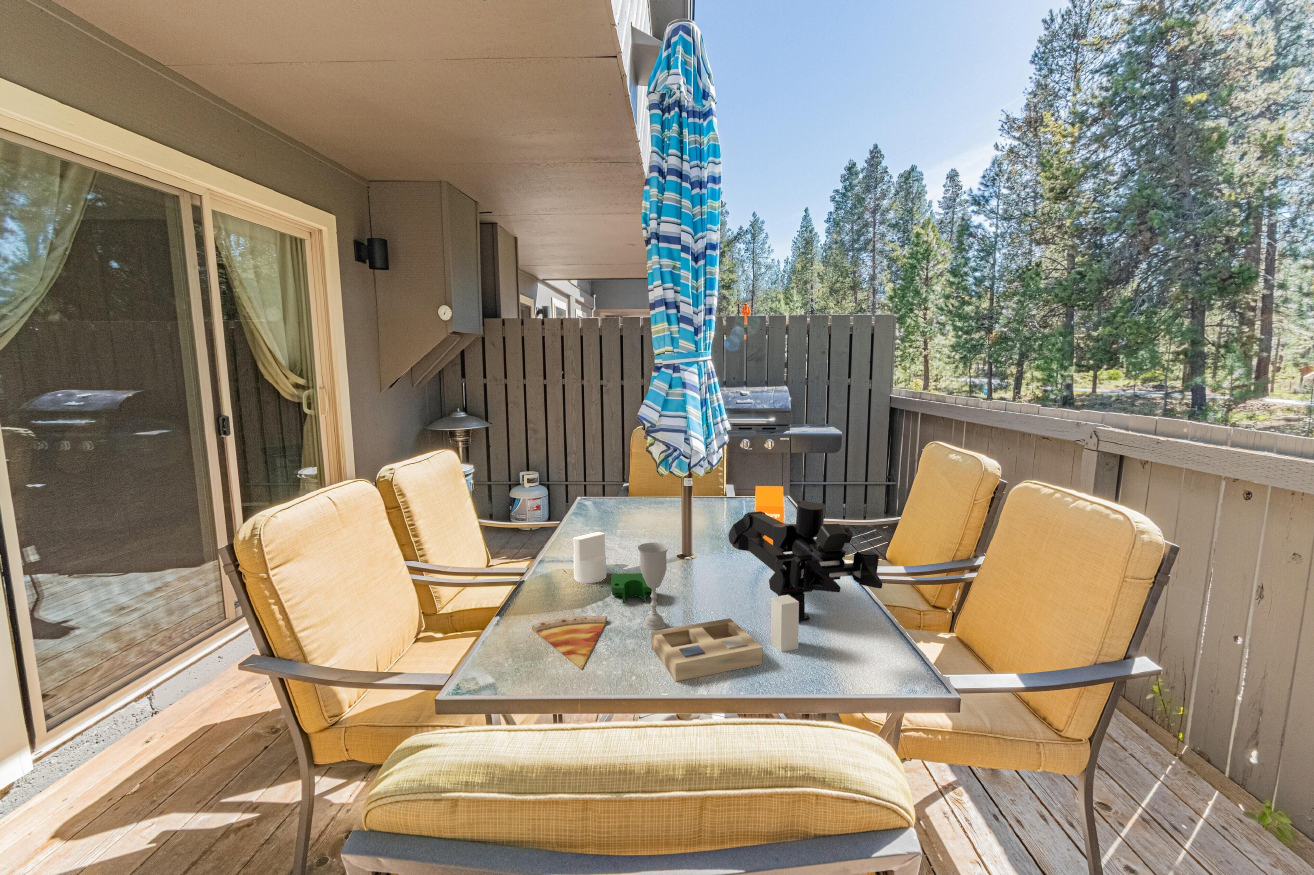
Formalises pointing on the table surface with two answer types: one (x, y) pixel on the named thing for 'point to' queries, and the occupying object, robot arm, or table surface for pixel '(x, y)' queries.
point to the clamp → (629, 586)
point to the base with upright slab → (589, 558)
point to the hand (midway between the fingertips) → (860, 587)
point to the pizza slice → (572, 636)
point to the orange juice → (770, 503)
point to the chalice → (653, 578)
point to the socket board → (705, 649)
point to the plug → (784, 622)
